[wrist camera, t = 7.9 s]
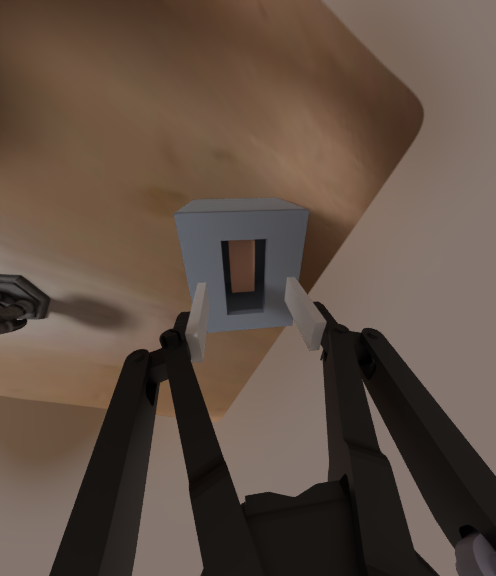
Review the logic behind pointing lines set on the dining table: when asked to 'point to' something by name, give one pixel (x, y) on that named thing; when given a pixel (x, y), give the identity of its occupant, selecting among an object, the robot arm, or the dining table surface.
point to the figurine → (19, 303)
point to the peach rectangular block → (242, 265)
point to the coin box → (268, 257)
